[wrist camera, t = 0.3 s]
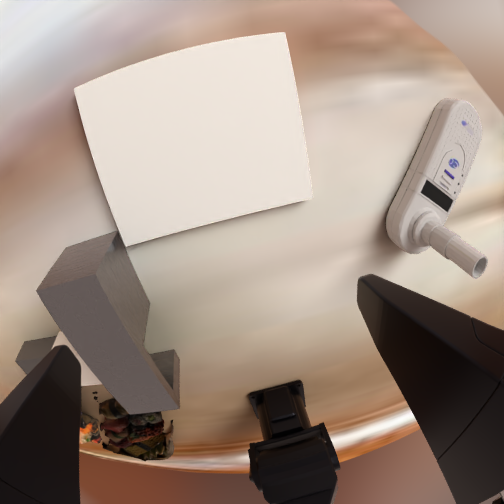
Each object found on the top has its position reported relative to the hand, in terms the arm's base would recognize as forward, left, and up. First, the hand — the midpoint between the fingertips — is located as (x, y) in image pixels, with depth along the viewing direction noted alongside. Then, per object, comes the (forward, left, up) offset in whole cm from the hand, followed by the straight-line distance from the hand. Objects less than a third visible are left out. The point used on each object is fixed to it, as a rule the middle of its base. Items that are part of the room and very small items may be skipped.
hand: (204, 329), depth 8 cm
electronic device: (-3, -20, -15) cm, 25 cm away
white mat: (+3, -1, -14) cm, 15 cm away
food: (-26, +23, -15) cm, 38 cm away
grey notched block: (-9, +9, -14) cm, 19 cm away
